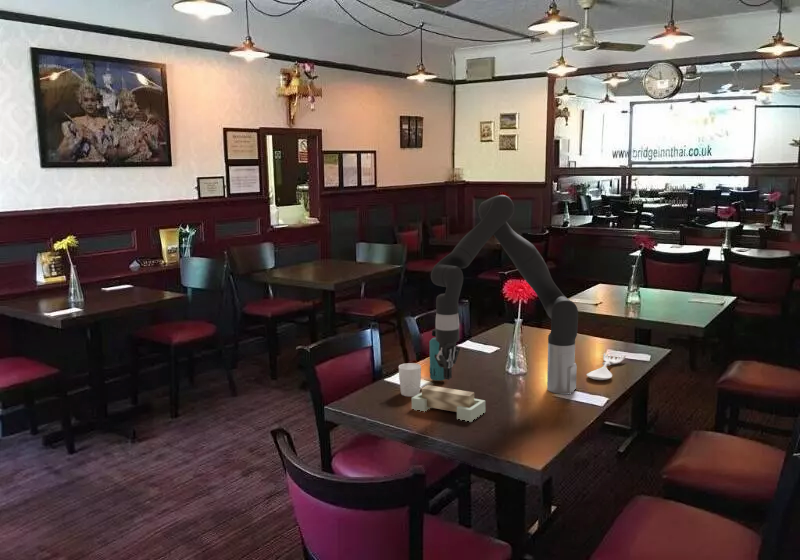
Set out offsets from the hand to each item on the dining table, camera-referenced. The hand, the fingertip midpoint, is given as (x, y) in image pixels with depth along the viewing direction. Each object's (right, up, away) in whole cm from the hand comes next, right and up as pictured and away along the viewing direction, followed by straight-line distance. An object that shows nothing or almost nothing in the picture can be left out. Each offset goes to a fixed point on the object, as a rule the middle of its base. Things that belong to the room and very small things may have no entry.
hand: (447, 378), depth 216 cm
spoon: (+64, -4, +40) cm, 75 cm away
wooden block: (0, -10, +2) cm, 10 cm away
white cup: (-12, -8, +19) cm, 24 cm away
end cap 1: (-7, -10, +6) cm, 14 cm away
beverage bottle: (-1, -6, +31) cm, 32 cm away
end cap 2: (+7, -12, -3) cm, 14 cm away
